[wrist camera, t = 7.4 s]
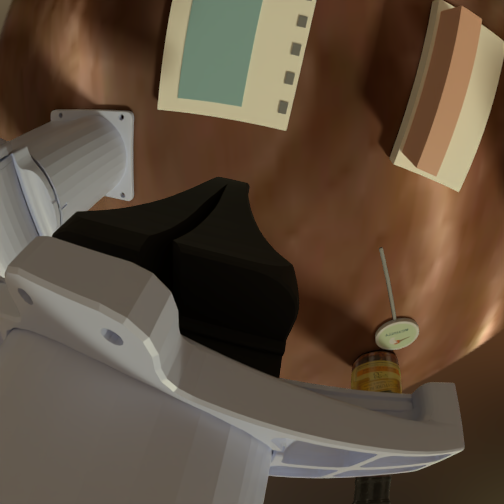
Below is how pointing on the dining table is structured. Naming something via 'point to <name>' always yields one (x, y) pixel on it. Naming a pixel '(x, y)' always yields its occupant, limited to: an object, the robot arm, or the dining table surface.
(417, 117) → the cream and brown block
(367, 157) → the dining table surface
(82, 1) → the dining table surface
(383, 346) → the dial probe thermometer
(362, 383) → the sauce bottle
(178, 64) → the cream teal notepad
